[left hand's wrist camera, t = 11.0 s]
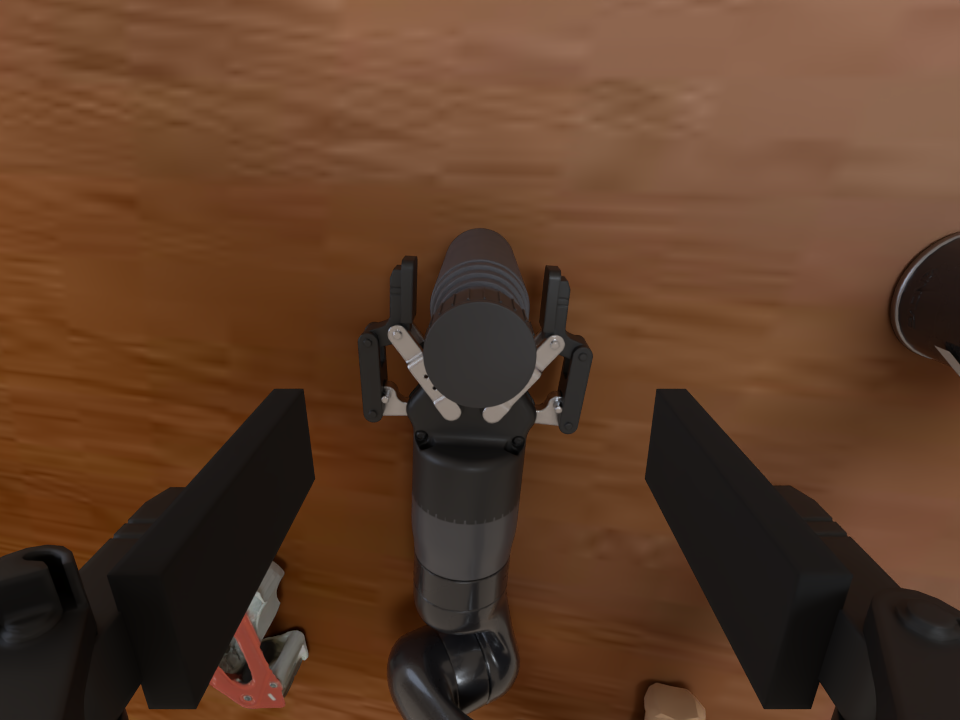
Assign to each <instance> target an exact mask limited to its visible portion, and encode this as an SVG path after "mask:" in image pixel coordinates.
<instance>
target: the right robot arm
mask: <svg viewBox="0 0 960 720" xmlns="http://www.w3.org/2000/svg"><path fill="white" fill-rule="evenodd" d="M569 296H570V287H569V283H568V281H567V279H566V278H565V277H564V276H561V270H560V269H559V268H558V266H547V265H546V267H545V273H544V282H543V291H542V301H541V310H540V319H539V323H540V326H541V330H540V331H539V332H538V333H537V334H536V335H535V336H534V340H535V343H536V347H537V358H536V365H535V370H534V372H533V375H532V377H531V379H530V381H529V382H528V384H527V385H526V386H525V388H524V389H523V390H522V391H521V392H520V393H519V394H518V395H516V396H515V397H514V398H512V399H511V400H509V401H507V402H505V403H503V404H500V405H497V406H494V407H488V408H472V407H466V406H462V405H459V404H457V403H455V402H452V401H451V400H449V399H447V398H446V397H445V396H443V395H442V394H441V393H440V392H439V391H438V390H437V389H436V388H435V387H434V386H433V384H432V383H431V381H430V379H429V378H428V375H427V373H426V370H425V367H424V361H423V348H424V343H425V342H423V341H424V336H423V334H422V333H421V332H420V330H419V329H418V328H417V326H416V325H415V324H414V322H413V320H414V318H415V315H416V300H417V256H405V257H404V258H403V259H402V265H397V266H396V267H395V268H394V270H393V272H392V274H391V277H390V318H389V319H388V320H385V321H382V322H371V323H369V324H368V325H367V327H366V328H365V331H364V332H363V333H362V334H361V336H360V337H359V339H358V351H359V363H360V375H361V387H362V400H363V412H364V417H365V418H366V419H367V420H368V421H370V422H378V421H379V420H381V418H382V416H383V415H407V416H408V418H409V419H410V421H411V423H412V426H413V430H414V437H413V479H412V530H413V537H414V583H413V592H414V601H415V606H416V609H417V611H418V613H419V615H420V617H421V618H422V619H423V621H424V622H425V623H426V624H427V625H426V626H423V627H420V628H418V629H415V630H413V631H410V632H408V633H407V634H405V635H403V636H401V637H400V638H399V639H398V640H397V641H396V643H395V644H394V646H393V647H392V650H391V652H390V655H389V659H388V664H387V681H388V686H389V690H390V694H391V697H392V699H393V702H394V704H395V706H396V708H397V710H398V711H399V713H400V715H401V716H402V718H403V719H404V720H473V719H471V718H470V717H469V716H467V714H469V713H471V712H473V711H474V710H476V709H478V708H480V707H482V706H484V705H487V704H489V703H491V702H493V701H495V700H497V699H498V698H500V697H502V696H503V695H504V694H506V693H507V692H508V691H509V689H510V688H511V687H512V685H513V683H514V682H515V680H516V678H517V675H518V672H519V668H520V656H519V650H518V646H517V642H516V639H515V635H514V632H513V628H512V623H511V618H510V612H509V606H508V600H507V593H506V586H507V578H508V569H509V559H510V551H511V546H512V542H513V539H514V536H515V532H516V525H517V518H518V508H519V499H520V490H521V481H522V472H523V463H524V454H525V445H526V437H527V434H528V432H529V430H530V428H531V427H532V426H533V425H534V423H539V424H548V425H557V426H559V429H560V431H561V432H563V433H564V434H571V433H573V432H575V431H576V430H577V427H578V423H579V418H580V414H581V409H582V404H583V400H584V395H585V391H586V386H587V381H588V377H589V372H590V367H591V363H592V358H593V354H592V352H591V350H590V348H589V346H588V345H587V343H586V341H585V340H584V338H583V337H582V336H580V335H573V334H571V333H569V332H567V331H566V330H565V327H566V319H567V312H568V304H569ZM890 317H891V323H892V327H893V330H894V333H895V334H896V336H897V338H898V339H899V341H900V342H901V343H902V344H903V345H904V346H905V347H906V348H908V349H909V350H911V351H913V352H915V353H917V354H919V355H921V356H924V357H927V358H930V359H934V360H936V361H939V362H941V363H943V364H945V365H948V366H950V367H952V368H953V369H954V370H955V371H956V373H957V374H958V375H959V376H960V232H958V233H955V234H952V235H950V236H947V237H945V238H943V239H941V240H939V241H938V242H936V243H934V244H933V245H931V246H930V247H928V248H927V249H926V250H924V251H923V252H922V253H921V254H920V255H919V256H918V257H917V258H916V259H915V260H914V261H913V262H912V263H911V264H910V265H909V266H908V268H907V269H906V270H905V272H904V273H903V275H902V277H901V278H900V280H899V282H898V284H897V286H896V288H895V291H894V294H893V297H892V302H891V310H890ZM390 344H393V345H394V347H395V348H396V349H397V351H398V352H399V353H400V354H401V356H402V357H403V358H404V360H405V361H406V363H407V367H408V369H409V371H410V372H411V373H412V375H413V376H414V377H415V379H416V380H417V381H418V382H419V384H418V385H417V386H416V388H415V389H414V390H413V391H412V392H411V394H410V395H409V397H405V396H403V395H401V394H400V392H399V390H398V387H397V385H396V384H395V383H394V382H392V381H388V378H387V363H386V347H385V346H387V345H390ZM558 354H559V355H561V356H563V357H564V361H563V366H562V371H561V376H560V381H559V386H558V391H553V392H551V393H549V394H548V396H547V398H546V400H545V401H544V402H543V403H542V404H539V405H535V403H534V400H533V399H532V397H531V396H530V394H529V393H528V391H527V390H528V389H529V388H530V387H531V386H532V385H533V384H534V383H535V382H536V381H537V380H538V379H539V378H540V376H541V374H542V372H543V370H544V369H545V368H546V367H547V366H548V365H549V364H550V363H551V362H552V361H553V360H554V359H555V358H556V357H557V355H558Z"/></svg>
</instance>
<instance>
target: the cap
mask: <svg viewBox="0 0 960 720" xmlns="http://www.w3.org/2000/svg"><path fill="white" fill-rule="evenodd" d="M533 336H535V334H534V331H533V328H532V325H531V322H529V321H528V319H527V316H526V314H525V310H524V309H522V308H521V307H520V306H519V305H518V304H517V303H516V302H515V301H514V299H513V298H512V299H511V298H509V297H508V296H506V295H504V294H502V293H501V291H498V292H497V291H494V290H489V289H486V288H483V289H471V290H470V288H469V289H468V290H466V291H463V292H460V293H457V294H453V296H452V297H450V298H449V299H447V300H446V301H445V302H444V303H443V302H442V303H441V305H440V307H439V308H438V309H437V311H436V313H435V314H433V315H432V317H431V320H430V324H429V328H427V331H426V334H425V337H424V341H423V342H425V343H424V348H423V361H424V367H425V370H426V373H427V375H428V378H429V379H430V381H431V383H432V384H433V386H434V387H435V388H436V389H437V390H438V391H439V392H440V393H441V394H442V395H443V396H445V397H446V398H447V399H449V400H451V401H452V402H455V403H457V404H459V405H462V406H466V407H472V408H488V407H494V406H497V405H500V404H503V403H505V402H507V401H509V400H511V399H512V398H514V397H515V396H516V395H518V394H519V393H520V392H521V391H522V390H523V389H524V388H525V386H526V385H527V384H528V382H529V381H530V379H531V377H532V375H533V372H534V370H535V365H536V358H537V347H536V343H535V340H534V337H533Z"/></svg>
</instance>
